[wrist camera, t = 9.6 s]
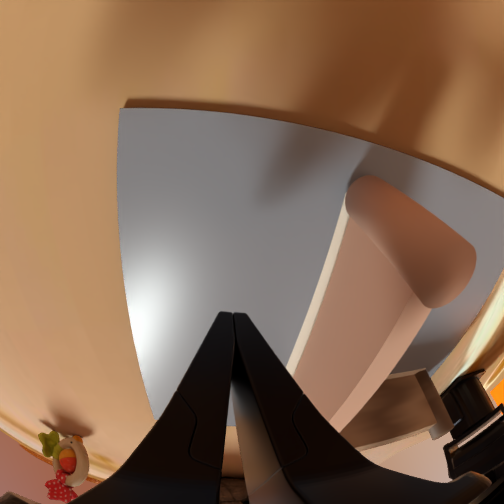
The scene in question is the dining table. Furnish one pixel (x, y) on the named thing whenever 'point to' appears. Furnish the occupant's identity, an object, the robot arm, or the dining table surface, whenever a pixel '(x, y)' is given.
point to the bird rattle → (65, 464)
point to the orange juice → (498, 393)
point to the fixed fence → (399, 413)
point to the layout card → (266, 234)
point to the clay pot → (233, 491)
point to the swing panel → (378, 296)
